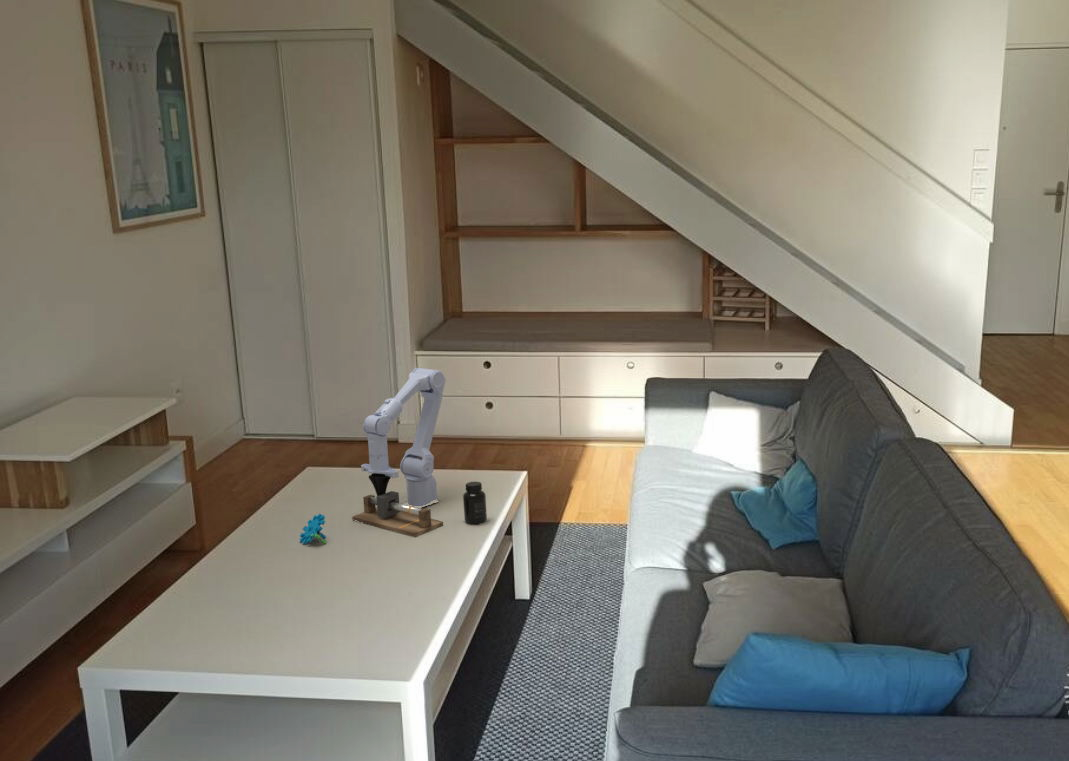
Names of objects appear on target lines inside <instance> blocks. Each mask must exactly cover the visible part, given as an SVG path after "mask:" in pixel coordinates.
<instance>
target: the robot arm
mask: <svg viewBox="0 0 1069 761" xmlns="http://www.w3.org/2000/svg"><path fill="white" fill-rule="evenodd" d="M446 380H447V379H446V377H445V375H444V373H443V372H442V371H441V370H439V369H430V368H423V367H415V368H414V369H412V371H411V372H410V373H409V374H408V380H407V381H406V382H405V383H404V385H403V386H402V387H401V388H400V390H399V391H398V392H397V393H396V395H395V396H394V397H393V398H392V397H391V398H390V397H389V398H386V399H385V400H384V401H383V402H384V403H382V405H381V406H380V407H379V408H378V409H377V410H376V411H375V412H374V414H369V415H368V416H366V418H365V419H364V421H363V424H362V429H363V431H364V433H365V435H366V439H367V443H368V445H367V446H368V459H369V463H363V464H361V465H360V466H361V467H360V468H361V472H367V473H368V474H369V475H368V479H369V480H370V482H371V484H372V485H373V488H374V491H375V494H376V497H377V496H379V495H382V494H385V493H387V488H388V484H389V482H390V479H397V478H399V477H400V475H399V470H396V469H395V468H393V467H391V466H390V465H389V450H388V436H387V434H389V432H390V430H391V426H392V424H393V422H394V421H395V420H396V419H397V417H398V416H399V415H400V414H401V413H402V412H403V405H404V404H405V403H407V401H409V400H410V399H411V398H412V397H413V396H414V395H415V394H416V393H417V392H419V394H421V395H422V397H423V403H422V408H421V412H420V414H419V420H418V424H417V428H416V433H415V435H414V439H413V443H412V444H413V445H412V446H411V447H410V448H408V449H407V450H406V451H405V453H404V456H403V458H402V459H401V461H400V464H399V469H400V472H401V474H402V475H403V476H404V479H405V480H406V481H405V482H406V498H407V502H408V504H409V505H412V506H423V505H426V504H428V503H430V502H431V501H433V500H436V499H437V500H438V488H437V480H436V479H435V476H434V475H433V473H434V467H435V466H434V460H435V457H434V455H433V454H432V452H431V451H430V449H431V445H432V441H433V436H434V434H435V428H436V425H437V420H438V417H439V412H440V408H441V404H442V401H443V392H444V388H445V384H446V382H447V381H446Z"/></svg>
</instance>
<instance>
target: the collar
mask: <svg viewBox="0 0 1069 761" xmlns="http://www.w3.org/2000/svg"><path fill="white" fill-rule="evenodd" d="M376 498H377V505H376V507H377V511H378V517H382V518H387V517H389V516H392V515H395V514H397V513H400V511H397V510H393V509H389V508H388V501H391V502H395V503H399V504H400V493H399V492H398V491H392V490H390V491H389V492H388V491H387V492H386V493H385V494H382V495H379V496H377V495H376Z"/></svg>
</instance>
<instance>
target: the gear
mask: <svg viewBox="0 0 1069 761" xmlns="http://www.w3.org/2000/svg"><path fill="white" fill-rule="evenodd" d="M325 519H326V516H325V515H323V514H321V513H320V512H319V513H318V514H315V515H313V516H312V519H309V520H307V521H306V523H307V526H306V525H304V526H303V528H302V531H304V532H301V533H300V535H299V537H300V538H299V542H300V543H303V544H304V545H307V543H311V542H312V541H313V539H315V541H317V542H321V543H323V544H324V545H327V543H328V542H327V541H326V540H325V539H326V538H327V536H326V534H324V533H322V532H321V531H322V530H323V527H322V526H324V525H325V524H326V520H325ZM321 525H322V526H321Z"/></svg>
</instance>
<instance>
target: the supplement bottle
mask: <svg viewBox="0 0 1069 761" xmlns="http://www.w3.org/2000/svg"><path fill="white" fill-rule="evenodd" d="M486 495H487V494H486V492H485V491H483V486H482V482H481V481H470V482H466V483H465V492H464V493H463V496H462V498H463V514H464V516H463V518H464V522H465V523H466V524H467V525H470V526H471V525H475V526H476V525H478V526H479V525H481V524H484V522H485V523H486V522H487V520H488V515H487V514H488V513H487V498H486Z"/></svg>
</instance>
